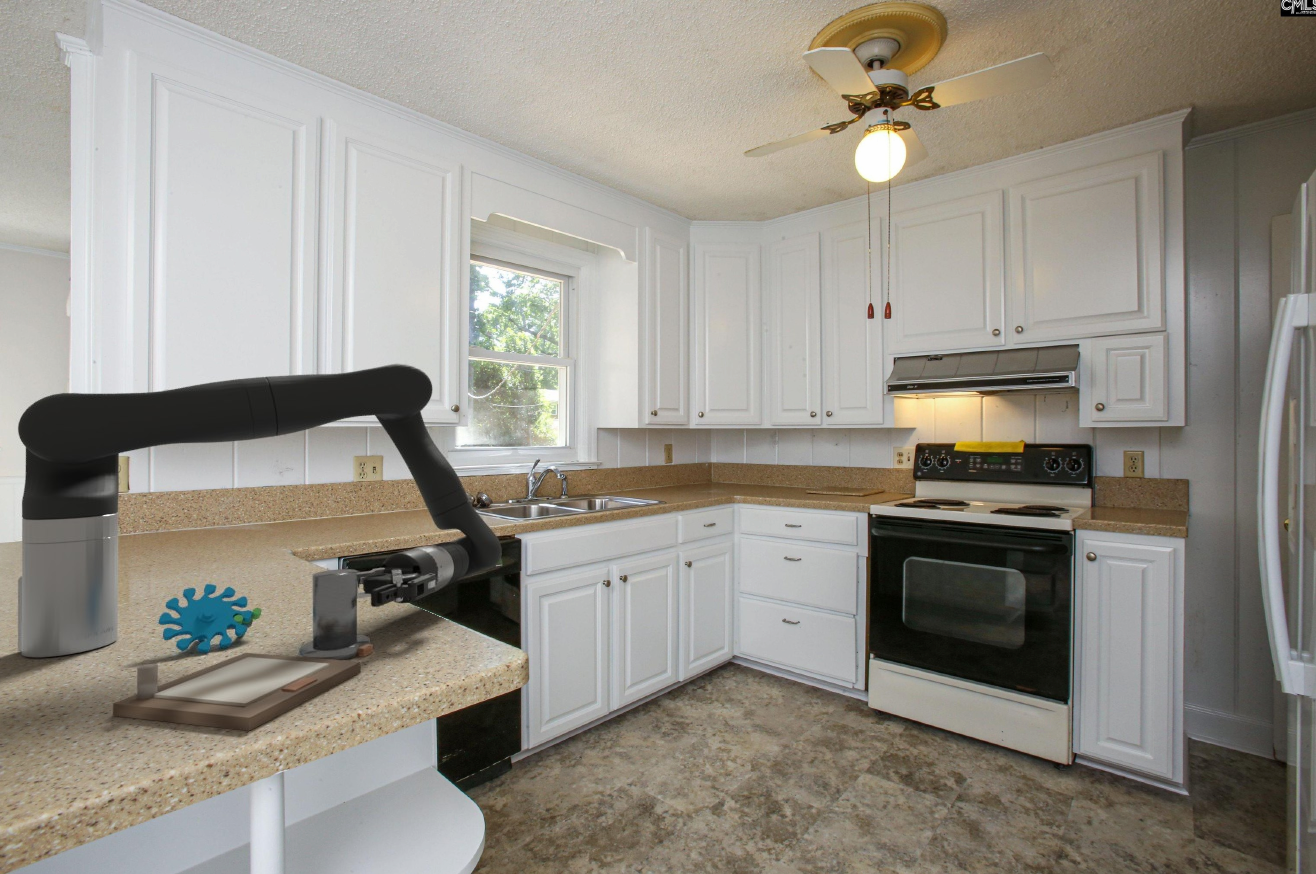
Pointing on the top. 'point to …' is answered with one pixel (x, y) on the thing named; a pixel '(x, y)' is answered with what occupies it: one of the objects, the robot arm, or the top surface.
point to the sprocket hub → (335, 618)
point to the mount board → (234, 690)
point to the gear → (207, 618)
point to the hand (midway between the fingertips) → (344, 597)
